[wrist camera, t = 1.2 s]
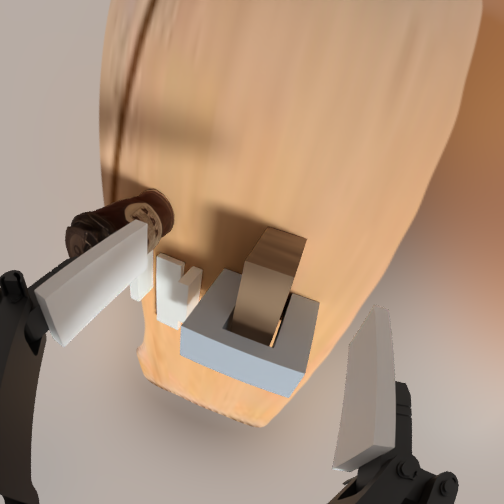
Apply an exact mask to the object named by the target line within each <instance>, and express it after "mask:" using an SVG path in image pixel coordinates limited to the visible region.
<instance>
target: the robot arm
mask: <svg viewBox="0 0 504 504" xmlns="http://www.w3.org/2000/svg"><path fill="white" fill-rule="evenodd" d="M147 226H148V224H147V223H144V222H142V221H139V220H134V221H132V222H131V223H129V224H128V225H126V226H124V227H123V228H121V229H120V230H118V231H117V232H115V233H114V234H112V235H110V236H109V237H107V238H106V239H104V240H103V241H101V242H100V243H98V244H97V245H95V246H94V247H92V248H91V249H90V250H88V251H87V252H85V253H84V254H82V255H81V256H79V257H78V256H75V257H72V258H69V259H67V260H65V261H64V262H62V263H61V264H60V265H58V267H56V268H54V269H53V270H52V271H51V272H49V273H47V274H46V275H45V276H43V277H42V278H41V279H39V280H38V281H37V282H35V283H34V284H33V285H32V286H30V287H29V288H27V286H26V283H25V280H24V277H23V274H22V273H21V272H20V271H16V270H12V271H8V272H6V273H4V274H3V275H2V276H1V277H0V286H1V288H0V494H1V495H2V496H3V498H4V500H5V504H39V498H38V494H37V491H36V490H35V488H34V487H33V485H32V481H31V438H32V437H31V436H32V423H33V413H34V404H35V397H36V390H37V384H38V378H39V372H40V367H41V362H42V357H43V353H44V348H45V343H46V334H45V333H46V332H47V331H48V330H50V333H51V335H52V337H53V339H54V340H56V341H57V342H58V343H59V344H60V345H61V346H63V347H65V346H66V345H67V344H68V343H69V342H70V341H71V340H72V339H73V338H74V337H75V336H76V335H77V334H78V333H79V332H80V331H81V330H82V329H83V328H84V327H85V326H86V325H87V324H88V323H89V322H90V321H91V320H92V319H93V318H94V317H95V316H96V315H97V314H98V313H99V312H101V311H102V310H103V309H104V308H105V307H106V306H107V305H108V304H109V303H110V302H111V301H112V300H113V299H114V298H115V297H116V296H118V295H119V294H120V293H121V292H122V291H123V290H124V289H125V288H126V287H127V286H128V285H130V284H131V283H132V282H133V281H134V280H135V279H136V278H137V277H138V276H139V275H141V274H142V273H143V272H144V271H145V270H146V269H147ZM410 408H411V395H410V392H409V390H408V388H407V385H406V384H405V383H401V382H397V381H395V369H394V354H393V343H392V332H391V324H390V315H389V309H386V308H383V307H380V306H377V305H374V306H373V307H372V309H371V311H370V312H369V314H368V316H367V317H366V319H365V321H364V322H363V324H362V325H361V327H360V329H359V330H358V332H357V333H356V335H355V336H354V338H353V339H352V341H351V342H350V344H349V352H348V364H347V374H346V384H345V393H344V400H343V408H342V415H341V422H340V428H339V434H338V440H337V446H336V451H335V457H334V461H333V466H332V469H334V470H340V471H347V472H351V471H353V470H355V469H357V468H358V475H357V476H356V477H353V478H351V479H349V480H347V481H345V482H344V483H343V484H344V485H346V484H347V485H346V486H345V487H344V488H343V489H342V490H341V491H340V492H339V493H338V494H337V495H336V496H335V497H334V498H333V499H332V500H331V501H330V502H329V503H328V504H454V501H455V499H456V495H457V492H458V486H459V485H458V480H457V478H456V476H455V475H454V474H453V473H452V472H447V471H446V472H444V473H441V474H439V475H434V474H432V473H429V472H427V471H425V470H423V469H421V468H420V465H419V462H418V460H417V459H416V458H415V456H413V455H412V418H411V415H412V414H411V409H410Z"/></svg>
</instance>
